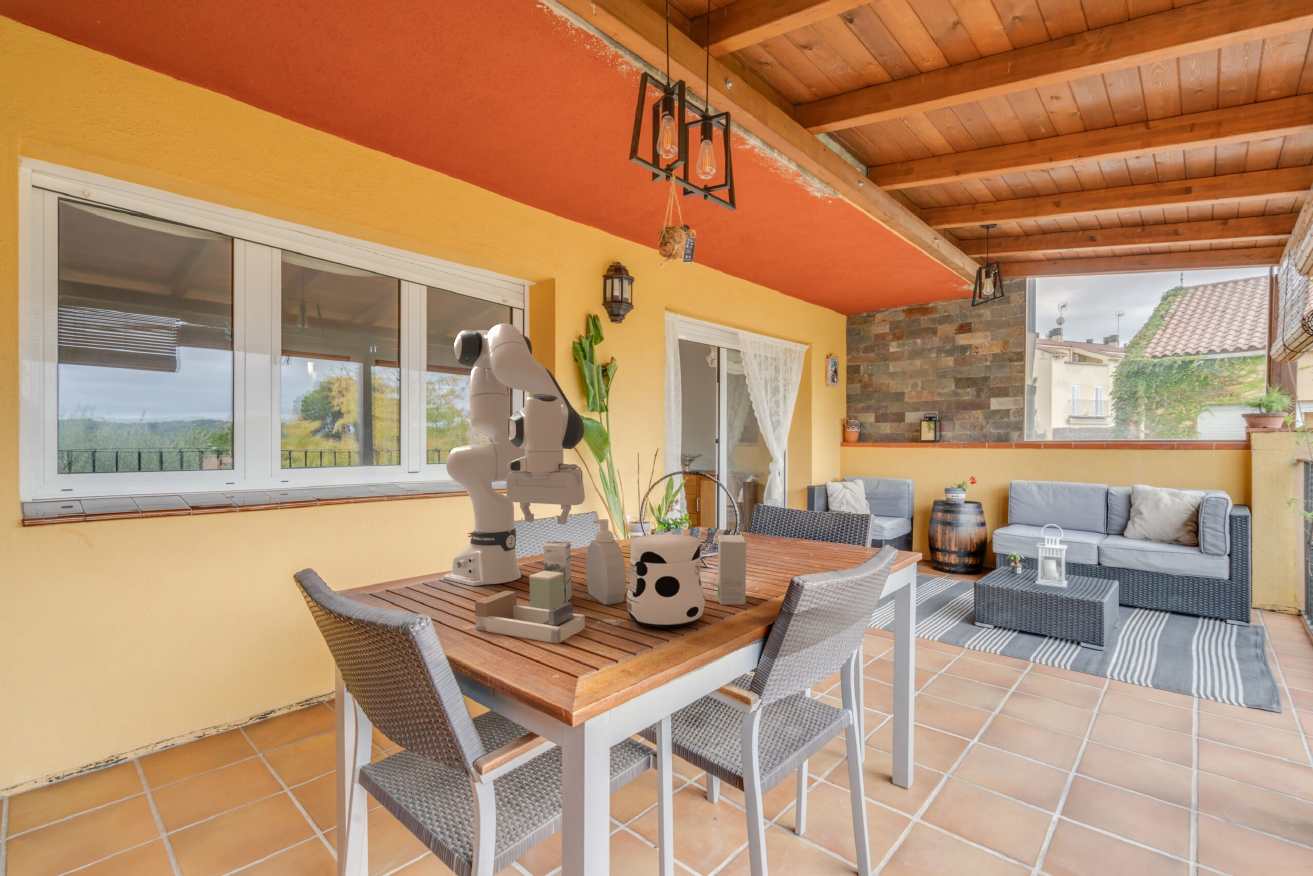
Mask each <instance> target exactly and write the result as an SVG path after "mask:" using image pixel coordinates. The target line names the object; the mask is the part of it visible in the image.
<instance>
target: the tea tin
mask: <svg viewBox="0 0 1313 876" xmlns="http://www.w3.org/2000/svg"><path fill="white" fill-rule="evenodd" d="M563 575H564V573H560V572H551V571H544V570H542V571H538V572H537V573H533V574H531V575H529V576H528V579H529V607H533V608H540V609H547V610H552V609H554V608H556V607H558V606H561V605H563V604H565V603H564V601H563Z"/></svg>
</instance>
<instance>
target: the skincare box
mask: <svg viewBox="0 0 1313 876" xmlns="http://www.w3.org/2000/svg"><path fill="white" fill-rule="evenodd" d="M717 537H718V538H717V543H718V544H717V548H718V549H717V562H718V563H717V598H718V602H719V605H720V606H722V605H723V606H726V605H727V606H731V605H732V606H733V605H734V606H736V605H737V606H738V605H739V606H741V605H742V606H743V605H744V606H745V605H746V588H747V587H746V584H747V582H746V581H747V580H746V577H747V576H746V574H747V572H746V571H747V570H746V568H747V565H746V564H747V542H746V538H745V537H744V536H743V535H742V534H736V535H735V534H718V536H717Z"/></svg>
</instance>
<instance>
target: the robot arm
mask: <svg viewBox="0 0 1313 876" xmlns="http://www.w3.org/2000/svg"><path fill="white" fill-rule="evenodd" d="M453 351H454V355H455V358H456V360H457V362H458V363H459V364H461V365H462V366H466V367H469V368H472V367H473V368H472V369H471V371H470V376H469V385H468V386H469V388H468V389H469V390H468V394H469V395H468V398H469V413H470V415H469V416H470V423H471V426H472V427H473V429H475V430H476V431H477V432H479V433H481V434H483V435H485V436H487V437H489V438H490V439H491V441H492V443H484V444H481V443H478V444H477V443H475V444H474V443H473V444H465V445H462V446H461V445H459V446H456V447H454V448H453V449H451V450H450V451H449V453H448V455H447V456H446V462H445V466H446V467H445V468H446V471H447V473H448V475H449V477H450V478H451V479H452V481H454V482H456V483H458V485H460V486H461V487H462V488H463V489H464V490H465V491H466V493H467V494H468V496H469V498H470V501H471V503H472V507H473V517H474V518H473V519H474V530H473V532H469V533H467V535H468V536H467V538H470V541H469V542H470V543H469V544H468V545H467V546H465V547H464V548H463V549H462V550H461V551H460V552H459V553H457V554H456V555H455V556H454V558H453V561H452V569H451V571H450V573H449V572H447V573H445V574H444V575H443V579H444V578H445V579H444V580H446V581H451V582H455V583H459V584H463V585H467V586H473V587H474V586H475V587H476V586H483V585H495V584H505V583H508V582H513V581H516V580H518V579H520V578H521V577H522V573H521V571H520V568H519V563H518V557H517V550H516V543H517V530H516V528H515V506H514V503H519V508H520V510H521V512H522V514H523V515H524V517H523V518H524V522H525V523H533V522H534V521H535V514H534V513H532V512H531V509H530V507H531V504H543V505H560V510H562V511H561V513H560V515H558V516H557V517H556V519H557V522H556V523H557V524H558V525H566V524H567V523H568V515H570V511H571V510H572V506H578V505H582V504H583V503H584V502H585V499H586V495H585V485H584V481H583V479H584V478H583V474H584V473H583V469H582V468H581V467H580V466H578V465H577V464H575V463H572V464H569V463H565V461H564V450H572V449H574V448H575V447H576V446H577V445H578V444H579V443H580V442H581V441H582V440H583V438H584V434H585V425H584V421H583V418H582V417H581V415H580V413H578V412H577V410H576V409H575V408H574V407H573V406H572V405H571V402H570V401H569V399H568V398H567V396H566V395H565V392H564V391H563V390H562V388H561V386H560V385H559V383H558V381H557V379H556V378H555V376H554V375H553V374H552V372H551V371H550V370H548V368H546V367H545V366H543V365H542V364H540V362H538V361H537V360H536V359H535V358H534V356H533V346H532V342H531V340H530V338H529V337H528V336H526V335H524V334H522V333H521V331H520V330H519V329H518V328H517V327H516V326H514V325H513V324H510V323H506V322H505V323H502V322H501V323H499V324H495V325H494V326H493V327H491V328H490V330H486V329H481V330H480V329H477V330H475V329H471V328H470V329H464V330H461V331H460V332H459V333H458V334H457V335H456V338H455V341H454V346H453ZM507 388H510V389H513V390H518V391H522V392H526V393H529V394H530V395H528V396H527V397H526V399H525V404H524V407H522V408H521V409H519V410H517V411H515V412H514V413H513V414H512V415H511V414H510V407H509V397H508V396H509V395H508V389H507ZM495 482H506V483H505V485H506V486H505V487H506V488H505V491H506V493H505V494H506V495H504V494H502V493H501V492H497V491H496V490H494V489H493V483H495ZM456 570H457V571H456Z"/></svg>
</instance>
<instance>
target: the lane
mask: <svg viewBox="0 0 1313 876" xmlns="http://www.w3.org/2000/svg"><path fill="white" fill-rule="evenodd" d="M474 605H475V606H474V607H475V608H474V611H475V613H474V614H475V630H477V631H483V632H489V633H494V634H501V635H506V636H512V637H516V638H522V639H529V640H535V641H540V642H545V643H550V644H551V643H552V644H556V645H558V644H560V643H562V642H563V640H564V641H565V640H567V639H569V638H571V637H573V636H574V634H575V635H577V634H579V633H580V632H582V631H584V630H585V628H586V626H585V625H586V618H585V616H586V615H585V614H580V613H574V612H573V620H571V621H569V622H567V623H565V624H563V625H561V626H559V627H557V626H551V625H545V624H542V623H544V622H547V621H549V610H547V609H540V608H533V607H530V606H525V605H518V604H517V591H511V590H504V591H502V592H499V593H496V594H493V595H489V596H487V597H485V598H482V599H479V600H477V601H474ZM583 629H584V630H583ZM581 630H582V631H581ZM572 635H573V636H572ZM570 636H571V637H570Z"/></svg>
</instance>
